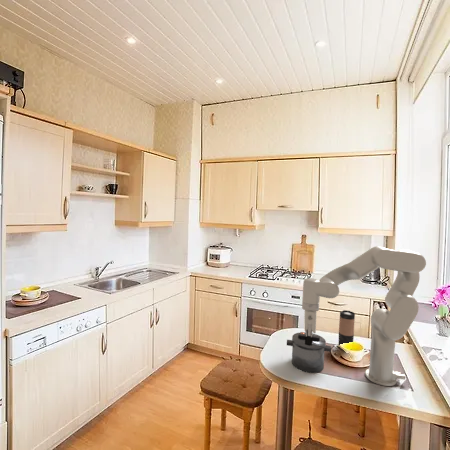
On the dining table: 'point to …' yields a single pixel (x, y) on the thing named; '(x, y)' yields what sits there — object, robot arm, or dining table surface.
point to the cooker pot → (308, 358)
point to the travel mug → (346, 326)
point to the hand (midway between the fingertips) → (308, 344)
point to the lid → (317, 341)
